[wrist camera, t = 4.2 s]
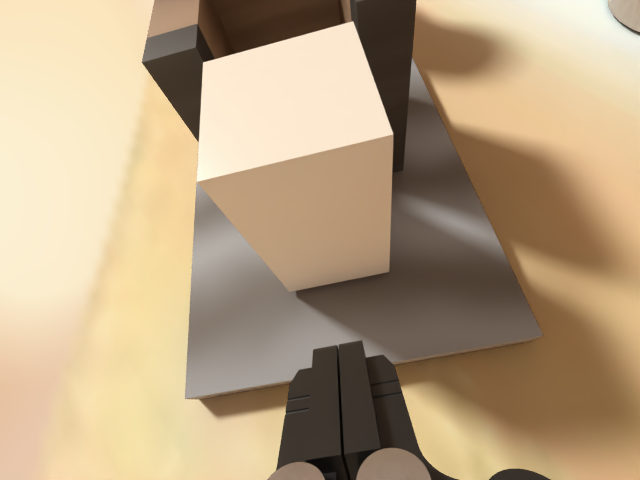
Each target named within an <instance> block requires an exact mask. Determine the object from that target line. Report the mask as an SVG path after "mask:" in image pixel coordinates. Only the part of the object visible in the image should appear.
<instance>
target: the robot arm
mask: <svg viewBox="0 0 640 480" xmlns="http://www.w3.org/2000/svg"><path fill="white" fill-rule="evenodd" d="M608 7H609V9H610V11H611V13H612V14H613V15H614V16H615V17H616V18H617V19H618V20H619V21H620V22H621V23H623V24H624V25H626V26H628V27H629V28H631V29H633V30H635V31H638V32H640V0H608ZM268 480H458V479H454V478H451V477H449V476H446V475H444V474H443V473H441V472H439V471H438V470H436V469H435V468H434V467H433V466H432V465H431V464H429V463H428V461H427V460H426V459H425V458H424V456H423V455H422V453H421V451H420V449H419V446H418V443H417V440H416V437H415V433H414V430H413V427H412V423H411V420H410V417H409V413H408V410H407V407H406V403H405V400H404V397H403V394H402V390H401V387H400V383H399V380H398V377H397V373H396V370H395V367H394V365H393V364H392V363H391V362H390V361H389V360H388V359H387V358H386V357H385V356H384V355H377V356H372V357H366V355H365V350H364V346H363V342H362V340H360V341H355V342H349V343H344V344H339V349H338V346H337V345H334V346H328V347H323V348H317V349H313V357H312V367H311V368H306V369H300V370H298V372H297V373H296V375H295V377H294V378H293V380H292V381H291V383H290V387H289V393H288V402H287V406H286V415H285V419H284V425H283V432H282V438H281V445H280V451H279V457H278V464H277V469H276V471H275V472H274V473H273V474H272V475H271V476H270V477H269V478H268ZM489 480H550V479H548V478H546V477H544V476H543V475H540V474H538V473H535V472H532V471H529V470H524V469H507V470H503V471H500V472H498V473H496V474H495V475H493V476H492V477H491V478H490V479H489Z"/></svg>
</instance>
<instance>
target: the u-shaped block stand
mask: <svg viewBox="0 0 640 480" xmlns="http://www.w3.org/2000/svg"><path fill="white" fill-rule="evenodd" d="M415 11H416V0H155V1H154V6H153V11H152V16H151V21H150V26H149V30H148V35H147V40H146V45H145V50H144V55H143V61H142V63H143V65H144V66H145V67H146V69H147V70H148V72H149V73H150V74H151V76H152V77H153V79H154V80H155V82H156V83H157V84H158V86H159V87H160V89H161V90H162V91H163V93H164V94H165V96H166V97H167V98H168V100H169V101H170V103H171V104H172V105H173V107H174V108H175V110H176V111H177V113H178V114H179V115H180V117H181V118H182V120H183V121H184V122H185V124H186V125H187V127H188V128H189V129H190V131H191V132H192V134H193V135H194V137H195V138H196V139H197V141H198V142H199V131H200V112H201V93H202V74H203V62H207V61H211V60H214V59H218V58H222V57H225V56H229V55H232V54H236V53H240V52H243V51H247V50H251V49H254V48H258V47H261V46H265V45H269V44H272V43H276V42H280V41H283V40H287V39H291V38H294V37H298V36H301V35H305V34H309V33H312V32H316V31H320V30H323V29H327V28H330V27H334V26H338V25H341V24H345V23H349V22H352V21H353V22H354V25H355V28H356V30H357V33H358V36H359V39H360V42H361V45H362V47H363V50H364V53H365V56H366V59H367V61H368V64H369V67H370V70H371V73H372V76H373V78H374V81H375V84H376V87H377V90H378V92H379V95H380V98H381V101H382V104H383V106H384V109H385V112H386V115H387V118H388V121H389V123H390V126H391V129H392V132H393V165H392V198H391V230H390V263H389V272H386V273H381V274H377V275H372V276H367V277H362V278H357V279H352V280H347V281H342V282H337V283H332V284H327V285H322V286H317V287H312V288H307V289H302V290H297V291H292V292H289V291H288V289H287V288H286V287H285V286H284V285H283V284H282V282H281V281H280V280H279V279H278V278H277V276H276V275H275V274H274V273H273V272H272V270H271V269H270V268H269V267H268V266H267V265H266V263H265V262H264V261H263V260H262V259H261V257H260V256H259V255H258V254H257V253H256V251H255V250H254V249H253V248H252V247H251V246H250V244H249V243H248V242H247V241H246V240H245V238H244V237H243V236H242V235H241V234H240V232H239V231H238V230H237V229H236V228H235V227H234V225H233V224H232V223H231V222H230V221H229V219H228V218H227V217H226V216H225V215H224V213H223V212H222V211H221V210H220V209H219V208H218V206H217V205H216V204H215V203H214V202H213V200H212V199H211V198H210V197H209V196H208V194H207V193H206V192H205V191H204V190H203V188H202V187H201V186H200V185H199V184H198V183H196V202H195V221H194V239H193V258H192V277H191V296H190V314H189V333H188V352H187V371H186V389H185V399H203V398H209V397H214V396H220V395H226V394H232V393H237V392H243V391H249V390H254V389H260V388H266V387H271V386H277V385H283V384H289V383H291V381H292V380H293V378H294V377H295V375H296V373H297V372H298V370H300V369H306V368H311V367H312V357H313V349H317V348H323V347H328V346H334V345H337V346H338V349H339V344H344V343H349V342H355V341H360V340H362V342H363V346H364V350H365V355H366V357H372V356H377V355H384V356H385V357H386V358H387V359H388V360H389V361H390V362H391V363H392V364H393V365H397V364H403V363H408V362H414V361H420V360H425V359H431V358H437V357H443V356H448V355H454V354H460V353H465V352H471V351H477V350H482V349H488V348H494V347H500V346H505V345H511V344H517V343H522V342H528V341H533V340H535V339H537V338H539V337H542V336H543V334H542V332H541V329H540V327H539V325H538V323H537V321H536V319H535V317H534V315H533V312H532V310H531V308H530V306H529V304H528V302H527V300H526V298H525V295H524V293H523V291H522V289H521V287H520V285H519V283H518V281H517V279H516V276H515V274H514V272H513V270H512V268H511V266H510V264H509V262H508V259H507V257H506V255H505V253H504V251H503V249H502V247H501V245H500V242H499V240H498V238H497V236H496V234H495V232H494V230H493V228H492V225H491V223H490V221H489V219H488V217H487V215H486V213H485V211H484V208H483V206H482V204H481V202H480V200H479V198H478V196H477V194H476V192H475V189H474V187H473V185H472V183H471V181H470V179H469V177H468V175H467V172H466V170H465V168H464V166H463V164H462V162H461V160H460V158H459V155H458V153H457V151H456V149H455V147H454V145H453V143H452V141H451V138H450V136H449V134H448V132H447V130H446V128H445V126H444V124H443V121H442V119H441V117H440V115H439V113H438V111H437V109H436V107H435V104H434V102H433V100H432V98H431V96H430V94H429V92H428V90H427V88H426V85H425V83H424V81H423V79H422V77H421V75H420V73H419V71H418V68H417V66H416V64H415V62H414V60H413V58H412V50H413V37H414V24H415ZM198 150H199V146H198ZM197 168H198V164H197Z"/></svg>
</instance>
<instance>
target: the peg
mask: <svg viewBox="0 0 640 480" xmlns="http://www.w3.org/2000/svg"><path fill="white" fill-rule="evenodd" d="M392 165H393V132H392V129H391V126H390V123H389V121H388V118H387V115H386V112H385V109H384V106H383V104H382V101H381V98H380V95H379V92H378V90H377V87H376V84H375V81H374V78H373V76H372V73H371V70H370V67H369V64H368V61H367V59H366V56H365V53H364V50H363V47H362V45H361V42H360V39H359V36H358V33H357V30H356V28H355V25H354V22H353V21H352V22H349V23H345V24H341V25H338V26H334V27H330V28H327V29H323V30H320V31H316V32H312V33H309V34H305V35H301V36H298V37H294V38H291V39H287V40H283V41H280V42H276V43H272V44H269V45H265V46H261V47H258V48H254V49H251V50H247V51H243V52H240V53H236V54H232V55H229V56H225V57H222V58H218V59H214V60H211V61H207V62H203V74H202V93H201V112H200V131H199V150H198V168H197V183H198V184H199V185H200V186H201V187H202V188H203V190H204V191H205V192H206V193H207V194H208V196H209V197H210V198H211V199H212V200H213V202H214V203H215V204H216V205H217V206H218V208H219V209H220V210H221V211H222V212H223V213H224V215H225V216H226V217H227V218H228V219H229V221H230V222H231V223H232V224H233V225H234V227H235V228H236V229H237V230H238V231H239V232H240V234H241V235H242V236H243V237H244V238H245V240H246V241H247V242H248V243H249V244H250V246H251V247H252V248H253V249H254V250H255V251H256V253H257V254H258V255H259V256H260V257H261V259H262V260H263V261H264V262H265V263H266V265H267V266H268V267H269V268H270V269H271V270H272V272H273V273H274V274H275V275H276V276H277V278H278V279H279V280H280V281H281V282H282V284H283V285H284V286H285V287H286V288H287V289H288V291H289V292H292V291H297V290H302V289H307V288H312V287H317V286H322V285H327V284H332V283H337V282H342V281H347V280H352V279H357V278H362V277H367V276H372V275H377V274H381V273H386V272H389V263H390V230H391V198H392Z"/></svg>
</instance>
